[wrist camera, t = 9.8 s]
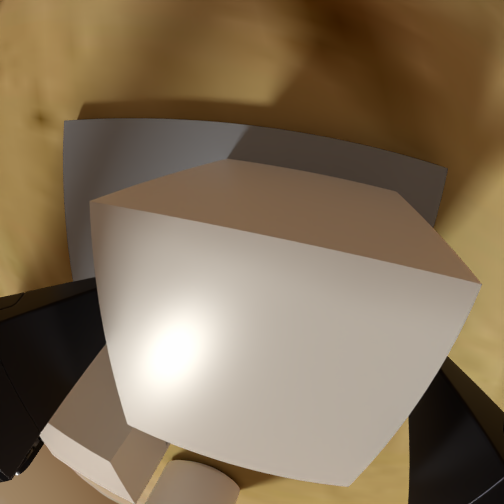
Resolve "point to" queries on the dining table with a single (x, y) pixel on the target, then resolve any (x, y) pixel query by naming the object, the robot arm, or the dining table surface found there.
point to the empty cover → (102, 435)
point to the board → (211, 150)
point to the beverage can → (193, 485)
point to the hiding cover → (274, 314)
